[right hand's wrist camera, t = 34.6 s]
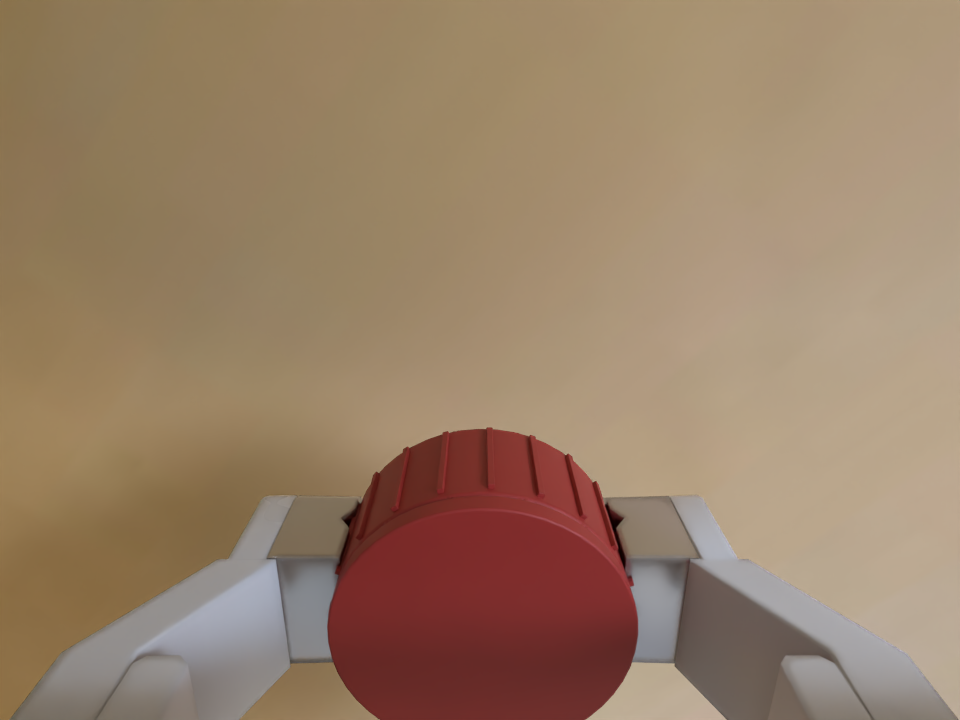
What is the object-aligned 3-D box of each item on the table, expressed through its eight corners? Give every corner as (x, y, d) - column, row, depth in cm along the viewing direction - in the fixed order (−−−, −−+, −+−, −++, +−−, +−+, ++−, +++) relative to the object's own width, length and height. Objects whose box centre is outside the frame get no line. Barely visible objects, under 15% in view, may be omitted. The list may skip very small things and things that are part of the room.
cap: (646, 591, 11) (683, 700, 9) (422, 667, 11) (411, 785, 9) (554, 382, 9) (574, 457, 7) (305, 483, 10) (263, 575, 8)
